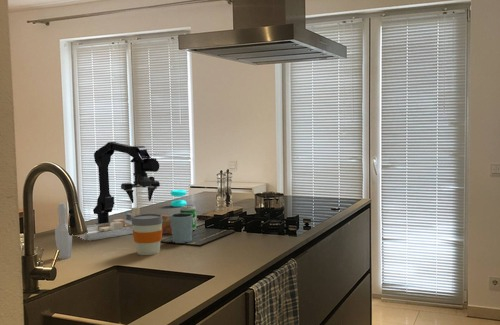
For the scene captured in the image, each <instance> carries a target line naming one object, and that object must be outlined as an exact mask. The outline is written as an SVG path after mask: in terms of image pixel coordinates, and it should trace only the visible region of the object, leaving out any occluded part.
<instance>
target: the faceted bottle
mask: <svg viewBox="0 0 500 325" xmlns="http://www.w3.org/2000/svg"><path fill="white" fill-rule="evenodd" d="M67 212H68V208H67V205H66V202H60V203H58V205H57V214H58V225H57V226H56V228H55V229H54V238H55V245H56V251H57V250H60V254H59V257H58V259H59V260H65V259H71V258H72V249H73V248H72V247H73V235H72V236H70V235H69V233H68V225H69V224H68V220H67V219H68V217H67Z"/></svg>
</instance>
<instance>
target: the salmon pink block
mask: <svg viewBox="0 0 500 325" xmlns="http://www.w3.org/2000/svg"><path fill="white" fill-rule="evenodd" d="M125 220H126V219H122V218H118V219H117V218H116V219H112V222H122V223H123V226H125Z"/></svg>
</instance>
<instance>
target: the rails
mask: <svg viewBox="0 0 500 325" xmlns="http://www.w3.org/2000/svg"><path fill="white" fill-rule="evenodd" d="M124 220H125V224H126V223H128V224H131V225H132V221H129V220H126V219H124ZM112 222H113V221H109V223H102V224H90V225H86V226H87V228H89V227H96V226H98V231H99V227H106V226H110V223H112ZM128 235H133V227H127V228H121V229H114V230H107V231H101V232H94V233H88V234H87V240H86V241H88V240H89V241H95V240H102V239H109V238H115V237H121V236H128ZM89 241H88V242H89Z"/></svg>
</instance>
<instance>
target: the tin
mask: <svg viewBox="0 0 500 325" xmlns="http://www.w3.org/2000/svg"><path fill="white" fill-rule="evenodd" d="M161 215H162V214H161ZM162 220H163V223H162V234H170V235H172V228H171V219H170V215H162Z"/></svg>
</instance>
